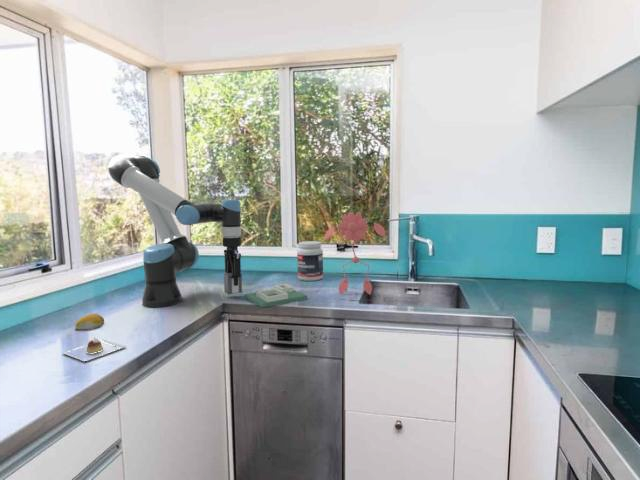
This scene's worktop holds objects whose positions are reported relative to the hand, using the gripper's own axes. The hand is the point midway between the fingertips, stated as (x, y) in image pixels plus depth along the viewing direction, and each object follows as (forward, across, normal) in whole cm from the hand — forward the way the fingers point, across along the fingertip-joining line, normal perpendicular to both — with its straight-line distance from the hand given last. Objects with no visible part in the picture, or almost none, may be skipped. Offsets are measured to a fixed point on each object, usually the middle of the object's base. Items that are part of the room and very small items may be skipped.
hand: (233, 291), depth 173 cm
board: (+2, -13, -14) cm, 19 cm away
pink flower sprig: (+1, -30, -42) cm, 51 cm away
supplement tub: (+2, +10, -44) cm, 46 cm away
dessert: (+4, -33, +54) cm, 63 cm away
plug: (0, 0, 0) cm, 0 cm away
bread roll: (+4, -6, +53) cm, 54 cm away
